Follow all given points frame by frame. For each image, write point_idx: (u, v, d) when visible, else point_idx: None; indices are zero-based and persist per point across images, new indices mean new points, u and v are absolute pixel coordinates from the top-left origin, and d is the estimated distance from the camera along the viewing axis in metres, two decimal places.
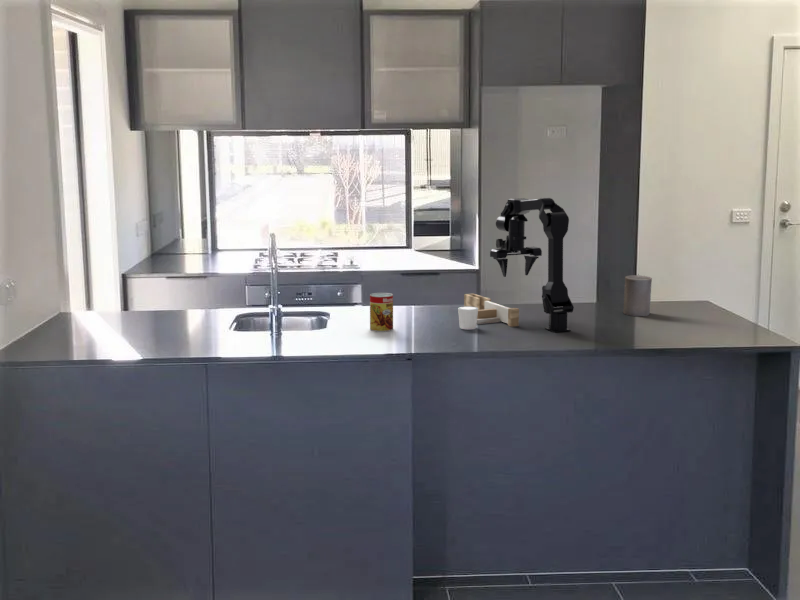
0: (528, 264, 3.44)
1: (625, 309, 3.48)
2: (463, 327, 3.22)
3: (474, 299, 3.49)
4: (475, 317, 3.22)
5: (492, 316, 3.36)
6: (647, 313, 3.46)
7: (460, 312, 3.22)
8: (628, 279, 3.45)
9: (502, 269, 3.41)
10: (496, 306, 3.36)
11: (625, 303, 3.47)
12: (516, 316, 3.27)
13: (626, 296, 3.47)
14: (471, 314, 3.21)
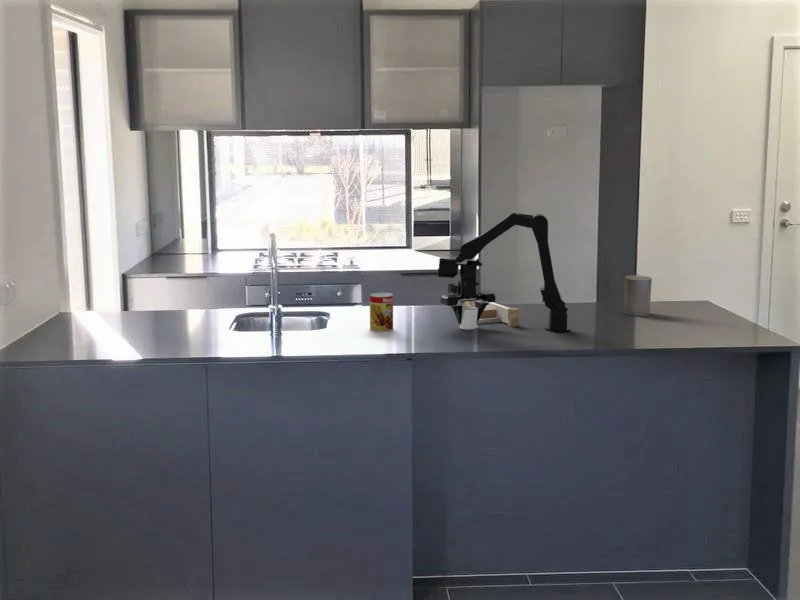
0: (478, 311, 3.24)
1: (625, 309, 3.48)
2: (463, 327, 3.22)
3: None
4: (475, 317, 3.22)
5: (492, 316, 3.36)
6: (647, 313, 3.46)
7: None
8: (628, 279, 3.45)
9: (457, 316, 3.22)
10: (496, 306, 3.36)
11: (625, 303, 3.47)
12: (516, 316, 3.27)
13: (626, 296, 3.47)
14: (471, 314, 3.21)
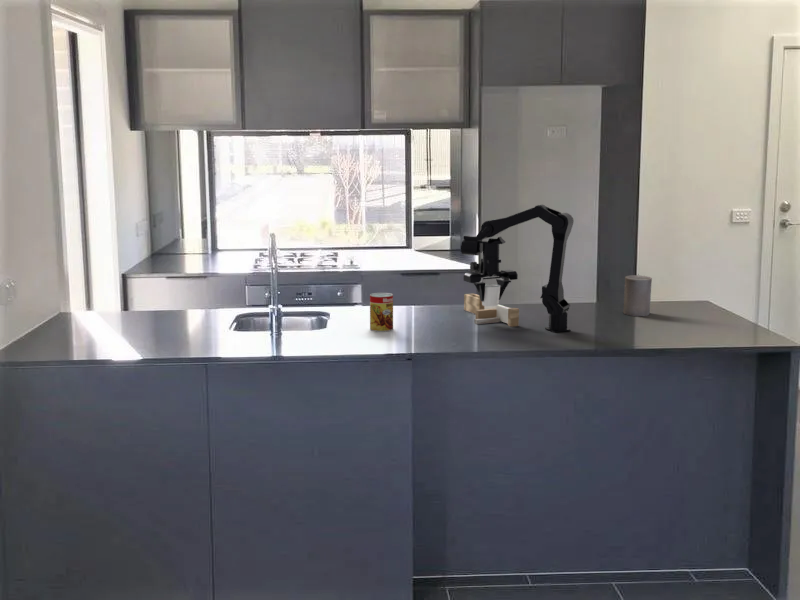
0: (500, 288, 3.29)
1: (625, 309, 3.48)
2: (486, 304, 3.27)
3: (474, 299, 3.49)
4: (498, 294, 3.27)
5: (492, 316, 3.36)
6: (647, 313, 3.46)
7: None
8: (628, 279, 3.45)
9: (480, 293, 3.27)
10: (496, 306, 3.36)
11: (625, 303, 3.47)
12: (516, 316, 3.27)
13: (626, 296, 3.47)
14: (494, 291, 3.26)
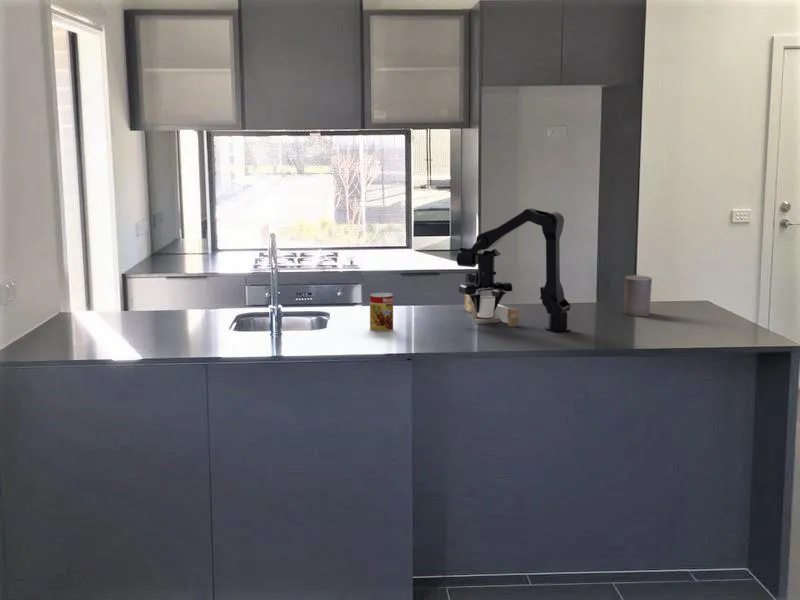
0: (495, 300, 3.33)
1: (625, 309, 3.48)
2: (481, 315, 3.31)
3: None
4: (492, 305, 3.31)
5: None
6: (647, 313, 3.46)
7: None
8: (628, 279, 3.45)
9: (475, 305, 3.31)
10: None
11: (625, 303, 3.47)
12: (516, 316, 3.27)
13: (626, 296, 3.47)
14: (489, 303, 3.29)
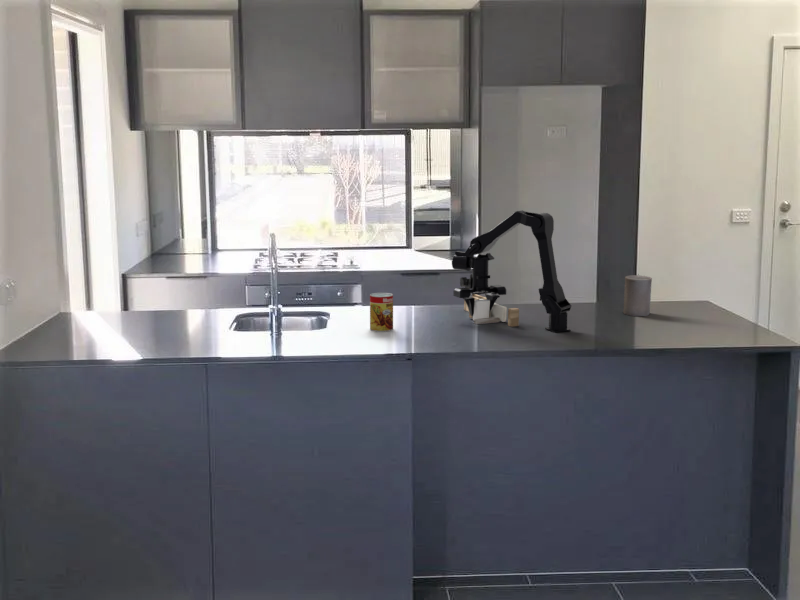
0: None
1: (625, 309, 3.48)
2: (476, 318, 3.34)
3: None
4: (487, 308, 3.34)
5: None
6: (647, 313, 3.46)
7: None
8: (628, 279, 3.45)
9: (469, 308, 3.35)
10: None
11: (625, 303, 3.47)
12: (516, 316, 3.27)
13: (626, 296, 3.47)
14: (483, 305, 3.33)
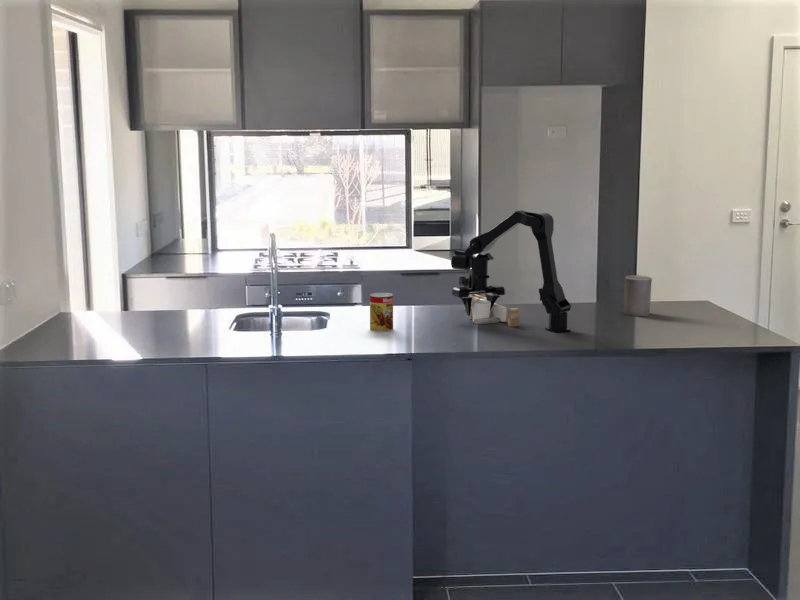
0: None
1: (625, 309, 3.48)
2: None
3: (474, 299, 3.49)
4: (488, 310, 3.34)
5: None
6: (647, 313, 3.46)
7: (473, 305, 3.34)
8: (628, 279, 3.45)
9: (466, 308, 3.34)
10: None
11: (625, 303, 3.47)
12: (516, 316, 3.27)
13: (626, 296, 3.47)
14: (484, 307, 3.33)
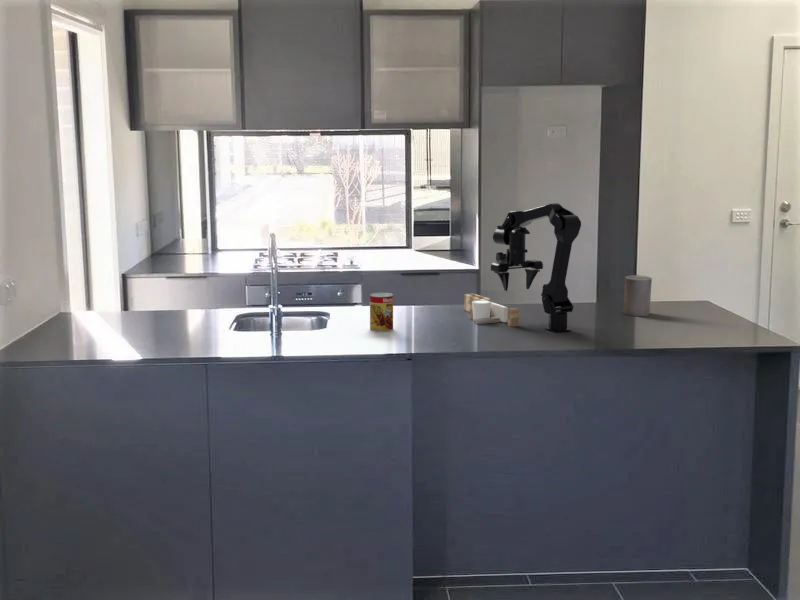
0: (529, 278, 3.37)
1: (625, 309, 3.48)
2: None
3: (474, 299, 3.49)
4: (488, 310, 3.33)
5: None
6: (647, 313, 3.46)
7: (474, 306, 3.33)
8: (628, 279, 3.45)
9: (503, 283, 3.33)
10: None
11: (625, 303, 3.47)
12: (516, 316, 3.27)
13: (626, 296, 3.47)
14: (485, 307, 3.32)
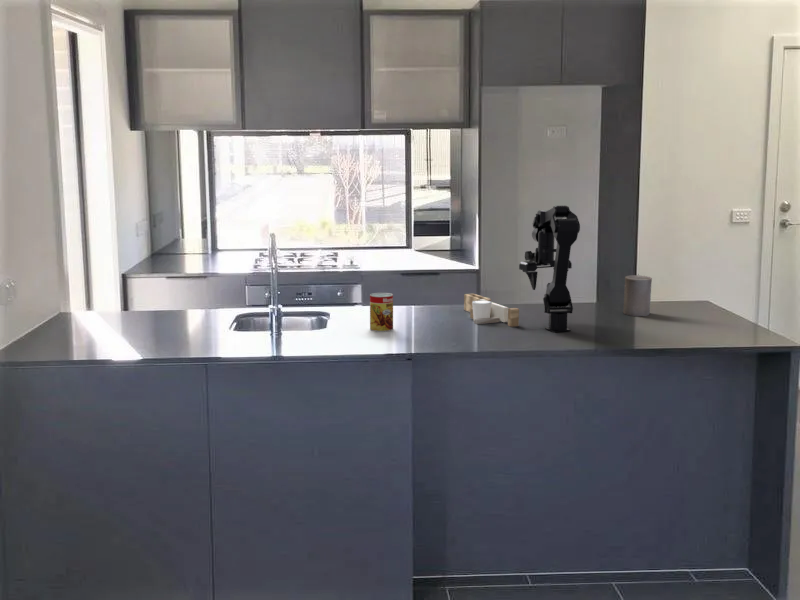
0: None
1: (625, 309, 3.48)
2: None
3: (474, 299, 3.49)
4: (489, 310, 3.33)
5: None
6: (647, 313, 3.46)
7: (474, 306, 3.33)
8: (628, 279, 3.45)
9: (531, 282, 3.34)
10: (491, 304, 3.40)
11: (625, 303, 3.47)
12: (516, 316, 3.27)
13: (626, 296, 3.47)
14: (485, 308, 3.32)
